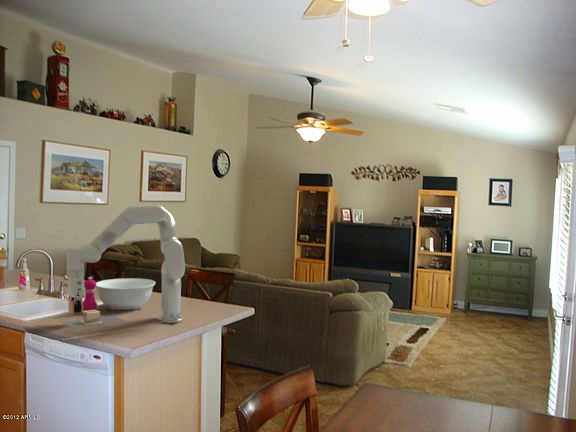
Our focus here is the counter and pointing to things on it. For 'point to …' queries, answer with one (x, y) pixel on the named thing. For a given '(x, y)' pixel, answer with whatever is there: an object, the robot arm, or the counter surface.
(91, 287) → the pepper mill
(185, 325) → the counter surface
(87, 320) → the maple block
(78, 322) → the board
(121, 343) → the counter surface
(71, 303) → the terracotta cube
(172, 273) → the robot arm
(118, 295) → the bowl
